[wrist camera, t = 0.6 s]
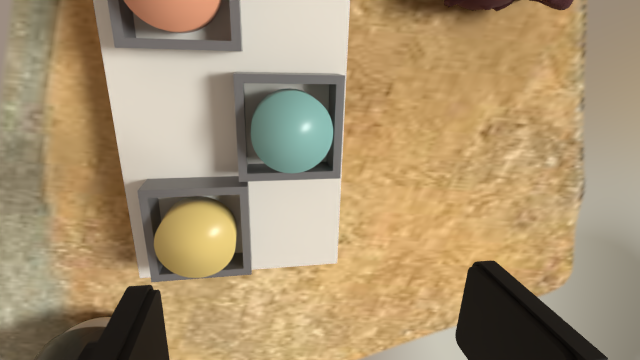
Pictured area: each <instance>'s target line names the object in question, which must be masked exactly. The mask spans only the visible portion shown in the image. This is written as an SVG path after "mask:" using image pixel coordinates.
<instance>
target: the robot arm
mask: <svg viewBox="0 0 640 360" xmlns="http://www.w3.org/2000/svg"><path fill="white" fill-rule="evenodd" d="M456 341H457V344H458V346H459V347H460V349H461V350H462V352H463V353H464V355H465V356H466V357H467V359H468V360H607V359H608V358H607V357H606V356H605V355H604V354H603V353H601V352H600V351H599V350H598V349H597V348H596V347H594V346H593V345H592V344H591V343H589V341H587V340H586V339H585V338H584V337H583V336H582V335H580V334H579V333H578V332H577V331H576V330H574V329H573V328H572V327H571V326H570V325H569V324H568V323H566V322H565V321H564V320H563V319H562V318H561V317H559V316H558V315H557V314H556V313H555V312H554V311H552V310H551V309H550V308H549V307H548V306H546V305H545V304H544V303H543V302H542V301H541V300H540V299H538V298H537V297H536V296H535V295H534V294H533V293H531V292H530V291H529V290H528V289H527V288H526V287H524V286H523V285H522V284H521V283H520V282H519V281H517V280H516V279H515V278H514V277H513V276H512V275H511V274H509V273H508V272H507V271H506V270H505V269H504V268H502V267H501V266H500V265H499V264H498V263H496V262H495V261H479V262H475V263H474V264H473V265H472V267H470V268H469V269H468V273H467V278H466V283H465V288H464V293H463V298H462V303H461V308H460V313H459V319H458V324H457V329H456ZM77 360H169V353H168V345H167V338H166V331H165V323H164V316H163V308H162V301H161V294H160V291H159V290H153V287H152V286H151V285H142V286H129V287H128V288H127V289H126V291H125V293H124V294H123V296H122V298H121V300H120V302H119V304H118V305H117V307H116V309H115V311H114V313H113V315H112V316H111V318H110V320H109V322H108V324H107V326H106V327H105V329H104V331H103V333H102V335H101V337H100V338H99V340H97V341H90V342H89V343H87V344H86V346H85V347H84V348H83V350H82V352H81V353H80V355H79V357H78V359H77Z"/></svg>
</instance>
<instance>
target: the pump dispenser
mask: <svg viewBox="0 0 640 360" xmlns="http://www.w3.org/2000/svg"><path fill="white" fill-rule="evenodd" d="M110 318H111V317H100V318H95V319H91V320H87V321H84V322H82V323H80V324H77V325H75V326H73V327H72V328H70V329H68V330H67V331H65V332H64V333H63V334H61V335H59V336H57V337H55V338H54V339H52V340H51V341H50V342H48V343H47V344H46V345H45V346H44V347H43V348H42V349H41V350H40V352H39V353H38V354H37V356H36V357H35V359H34V360H77V359H78V357H79V355H80V353H81V352H82V350H83V348H84V347H85V346H86V344H87V343H89V342H90V341H97V340H99V338H100V337H101V335H102V333H103V331H104V329H105V327H106V326H107V324H108V322H109V320H110Z"/></svg>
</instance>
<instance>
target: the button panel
mask: <svg viewBox="0 0 640 360" xmlns="http://www.w3.org/2000/svg"><path fill="white" fill-rule="evenodd" d="M93 4H94V10H95V15H96V21H97V27H98V33H99V39H100V45H101V51H102V57H103V63H104V69H105V75H106V80H107V86H108V92H109V98H110V104H111V110H112V116H113V122H114V128H115V134H116V139H117V145H118V151H119V157H120V163H121V169H122V175H123V181H124V187H125V193H126V199H127V204H128V210H129V216H130V222H131V228H132V234H133V240H134V246H135V252H136V258H137V264H138V269H139V275H140V278H147V277H151V281H152V282H160V281H173V280H186V279H199V278H188V277H183V276H180V275H177V274H175V273H173V272H171V271H170V270H168V269H167V268H166V267H165V266H164V265H163V264H162V263H161V262H160V261H159V259H158V257H157V255H156V252H155V249H154V238H155V234H156V231H157V229H158V227H159V225H160V224H161V222H162V220H163V218H164V216H165V214H166V213H167V211H168V210H169V209H170V208H171V207H172V206H173V205H174V204H175V203H177V202H178V201H180V200H182V199H185V198H188V197H194V196H204V197H209V198H213V199H215V200H218V201H219V202H221V203H223V204H224V205H225V206H226V207H228V208H229V210H230V211H231V212H232V214H233V215H234V217H235V220H236V223H237V236H236V247H235V252H234V255H233V257H232V259H231V261H230V262H229V263H228V264H227V266H226V267H224V268H223V269H222V270H221V271H219V272H217V273H215V274H213V275H210V276H207V277H202V278H212V277H224V276H237V275H250V274H252V270H253V269H267V268H280V267H293V266H306V265H320V264H333V263H337V254H338V234H339V213H340V193H341V172H342V152H343V131H344V111H345V91H346V70H347V50H348V29H349V9H350V0H222V3H221V6H220V9H219V11H218V13H217V15H216V16H215V18H214V19H213V20H212V21H211V22H210V23H209V24H208V25H207V26H205V27H204V28H202V29H200V30H198V31H195V32H191V33H175V32H170V31H166V30H162V29H159V28H156V27H154V26H152V25H150V24H148V23H146V22H145V21H143V20H142V19H140V18H139V17H138V16H137V15H135V14H134V13H133V11H132V10H131V9H130V8H129V7H128V6H127V4H126V3H125V2H124V0H93ZM287 88H291V89H298V90H301V91H304V92H306V93H308V94H310V95H311V96H312V97H314V98H315V99H316V100H318V101H319V102H320V103H321V104H322V105H323V106H324V107H325V109H326V110H327V112H328V113H329V115H330V118H331V121H332V125H333V140H332V144H331V147H330V149H329V151H328V153H327V154H326V156H325V157H324V158H323V160H322V161H321V162H320V163H318V164H317V165H316V166H314V167H313V168H311V169H309V170H307V171H304V172H300V173H283V172H279V171H276V170H274V169H272V168H270V167H269V166H267V165H266V164H265V163H264V162H263V161H262V160H261V159H260V158H259V157H258V155H257V154H256V152H255V150H254V148H253V145H252V141H251V121H252V116H253V113H254V111H255V108H256V107H257V105H258V104H259V102H260V101H261V100H262V99H263V98H264V97H265V96H267V95H268V94H270V93H272V92H274V91H277V90H280V89H287Z"/></svg>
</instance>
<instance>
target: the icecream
mask: <svg viewBox="0 0 640 360" xmlns="http://www.w3.org/2000/svg"><path fill="white" fill-rule="evenodd" d="M513 1H514V0H444V5H445V6H448V7H450V6H453V5H456V4H457V5H458V6H460V7H463V8H466V9H469V10H483V9H485V10H489V9H494V10H496V11H499V10H501V9H503V8H506V7H507V6H509V5H510V4H512V2H513ZM530 1H537V2H540V3H542V4H544V5H547V6H549V7H551V8H554V9H557V10H565V9H567V8H568V7H570V5H571V4H572V2H573V0H530Z"/></svg>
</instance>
